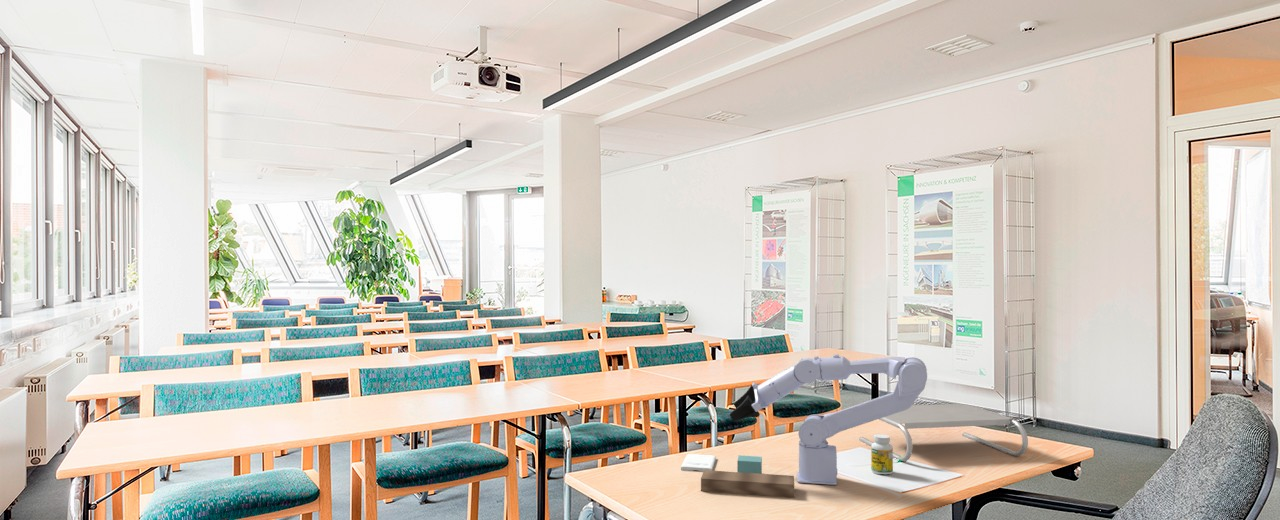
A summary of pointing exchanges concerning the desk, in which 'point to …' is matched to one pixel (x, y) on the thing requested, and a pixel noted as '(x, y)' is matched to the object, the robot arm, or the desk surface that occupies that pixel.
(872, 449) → the supplement bottle
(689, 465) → the external hard drive
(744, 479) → the walnut board
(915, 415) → the monitor stand
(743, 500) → the desk surface
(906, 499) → the desk surface
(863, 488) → the desk surface
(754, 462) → the teal block
